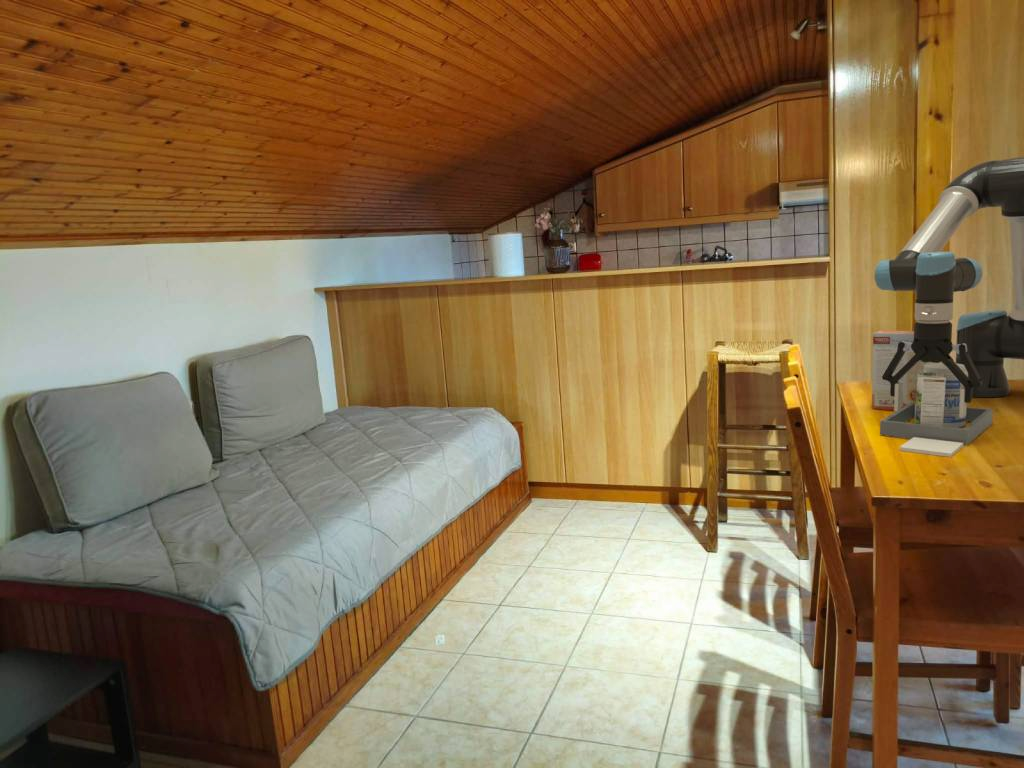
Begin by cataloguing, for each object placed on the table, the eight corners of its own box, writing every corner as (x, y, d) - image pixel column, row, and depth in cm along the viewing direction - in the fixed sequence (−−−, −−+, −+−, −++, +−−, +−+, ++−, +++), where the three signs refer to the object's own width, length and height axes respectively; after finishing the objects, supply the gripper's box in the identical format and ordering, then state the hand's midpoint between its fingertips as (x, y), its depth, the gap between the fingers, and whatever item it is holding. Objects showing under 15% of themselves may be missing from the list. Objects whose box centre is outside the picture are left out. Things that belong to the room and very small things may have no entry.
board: (913, 440, 174) (913, 437, 174) (963, 446, 167) (963, 442, 167) (899, 450, 167) (899, 447, 167) (950, 457, 160) (950, 453, 160)
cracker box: (934, 409, 202) (937, 330, 198) (928, 414, 197) (931, 333, 194) (877, 404, 211) (879, 329, 207) (870, 409, 207) (872, 331, 203)
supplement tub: (946, 431, 180) (949, 370, 177) (911, 424, 188) (913, 365, 186) (974, 426, 184) (978, 365, 181) (939, 418, 192) (941, 360, 190)
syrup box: (913, 432, 181) (915, 371, 179) (942, 433, 179) (944, 372, 176) (914, 438, 176) (916, 375, 174) (943, 439, 174) (946, 376, 171)
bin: (911, 415, 197) (911, 402, 196) (992, 423, 185) (993, 409, 184) (880, 435, 180) (880, 420, 179) (966, 445, 168) (967, 430, 167)
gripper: (869, 321, 179) (867, 410, 182) (993, 324, 162) (987, 422, 165) (880, 318, 184) (877, 404, 188) (1001, 320, 167) (995, 415, 171)
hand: (929, 413), depth 177 cm, fingers open, 13 cm apart
